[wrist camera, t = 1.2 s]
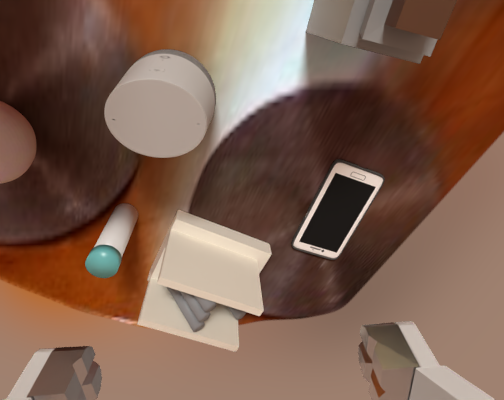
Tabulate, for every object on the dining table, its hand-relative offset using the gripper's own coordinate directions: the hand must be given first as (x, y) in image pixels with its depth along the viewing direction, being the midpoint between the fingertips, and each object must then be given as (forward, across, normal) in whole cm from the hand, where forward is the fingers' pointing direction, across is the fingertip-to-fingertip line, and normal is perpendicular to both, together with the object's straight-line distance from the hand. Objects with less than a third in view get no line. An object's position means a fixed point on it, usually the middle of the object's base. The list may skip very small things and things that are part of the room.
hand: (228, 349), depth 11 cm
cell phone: (+37, -13, +16) cm, 42 cm away
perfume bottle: (+36, -13, -10) cm, 39 cm away
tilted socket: (+36, +5, +22) cm, 42 cm away
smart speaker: (+36, +7, -2) cm, 36 cm away
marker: (+36, +16, +13) cm, 41 cm away
